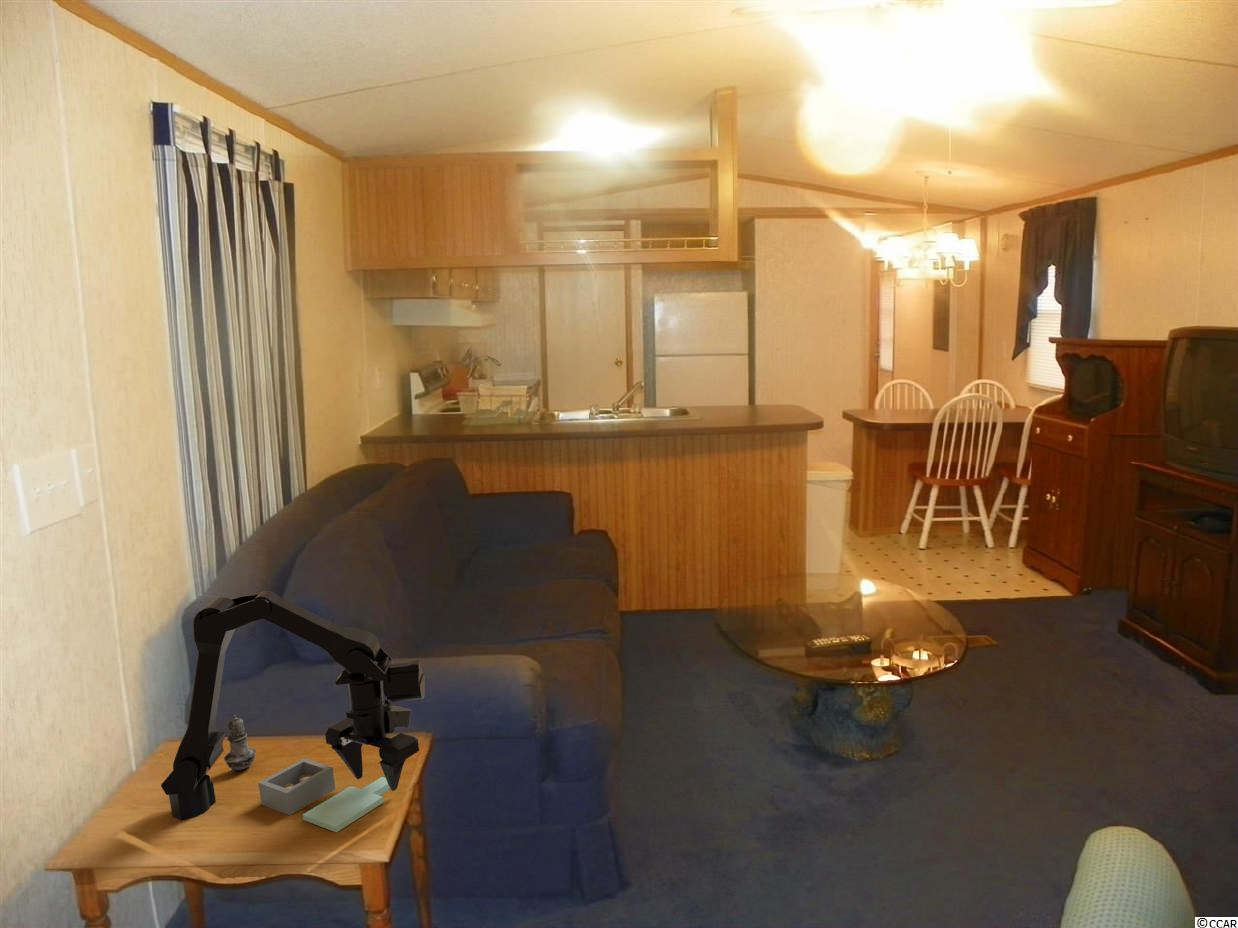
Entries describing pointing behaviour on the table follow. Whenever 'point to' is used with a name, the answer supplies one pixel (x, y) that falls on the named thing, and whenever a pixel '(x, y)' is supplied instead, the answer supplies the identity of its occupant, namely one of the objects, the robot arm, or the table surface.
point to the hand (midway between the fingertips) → (376, 783)
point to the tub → (296, 786)
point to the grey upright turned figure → (238, 747)
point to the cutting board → (347, 806)
